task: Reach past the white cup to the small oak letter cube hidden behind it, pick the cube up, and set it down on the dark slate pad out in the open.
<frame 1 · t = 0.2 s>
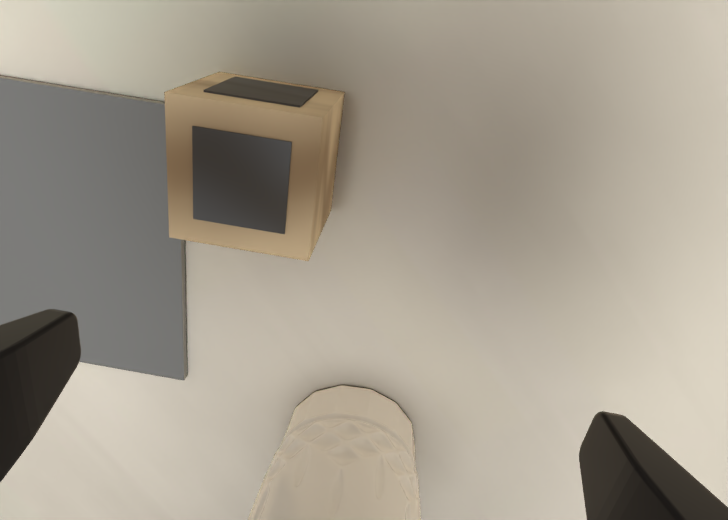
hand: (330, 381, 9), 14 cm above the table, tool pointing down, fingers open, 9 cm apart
slate pad: (80, 239, 25), on the table
white cup: (352, 430, 29), on the table
letter cube: (278, 144, 22), on the table
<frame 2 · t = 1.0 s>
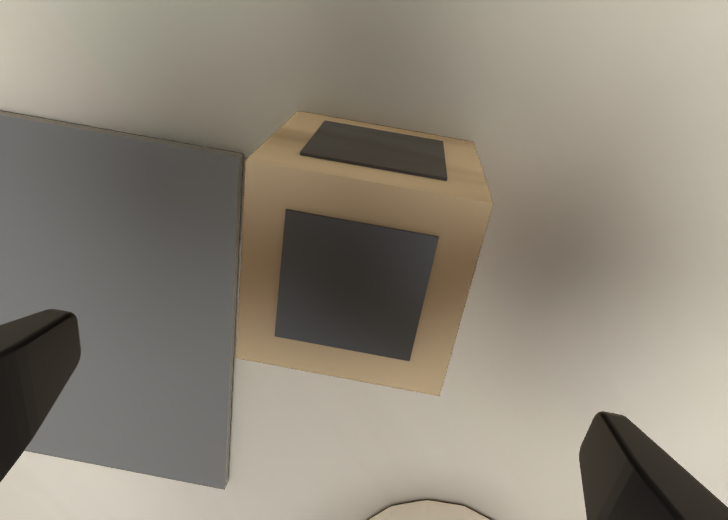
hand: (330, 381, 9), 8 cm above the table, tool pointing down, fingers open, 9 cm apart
slate pad: (97, 319, 19), on the table
letter cube: (371, 207, 16), on the table
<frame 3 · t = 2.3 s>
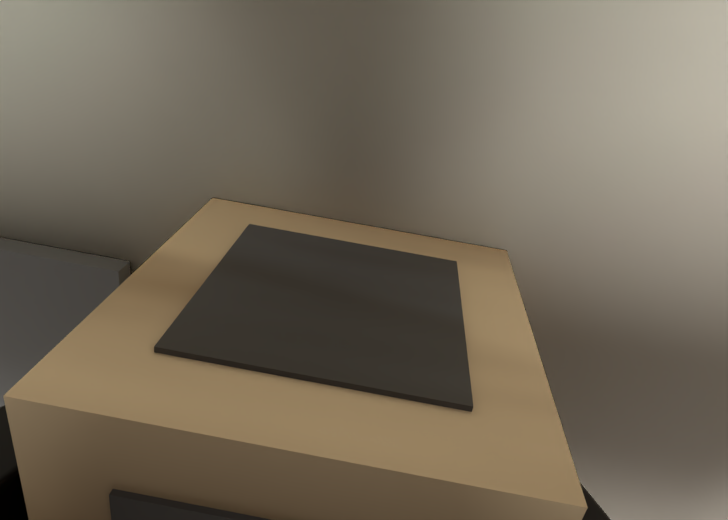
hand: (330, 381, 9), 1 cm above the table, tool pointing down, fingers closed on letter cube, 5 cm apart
letter cube: (339, 344, 10), on the table, touching gripper
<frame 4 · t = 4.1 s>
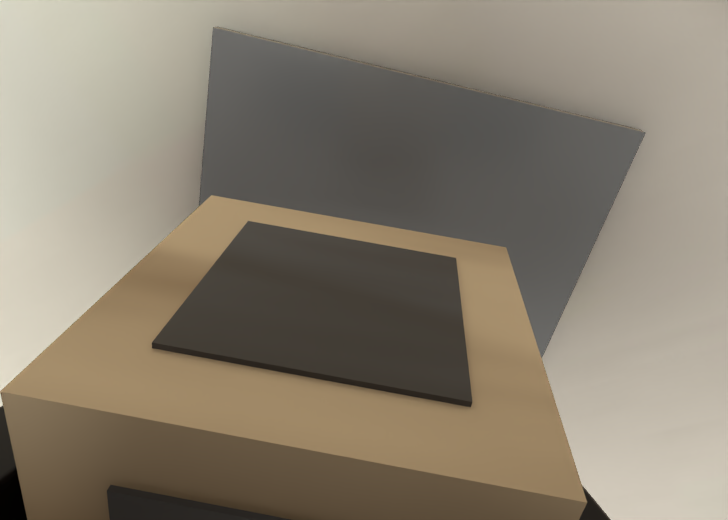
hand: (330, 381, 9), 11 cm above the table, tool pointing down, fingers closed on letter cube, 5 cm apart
slate pad: (393, 218, 19), on the table
letter cube: (339, 342, 10), point 10 cm above the table, touching gripper
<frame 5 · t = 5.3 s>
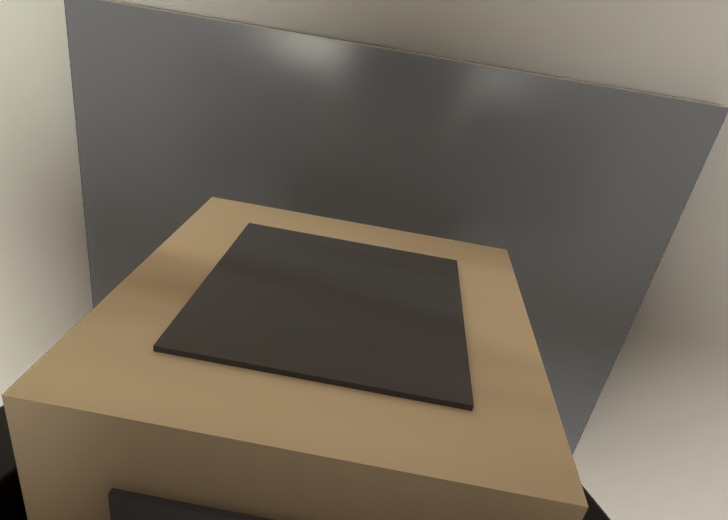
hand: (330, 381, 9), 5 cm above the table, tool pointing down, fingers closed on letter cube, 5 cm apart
slate pad: (358, 255, 14), on the table
letter cube: (339, 344, 10), point 4 cm above the table, touching gripper
when the fingers open (3 cm above the table, at t = 6.2 s): letter cube drops 1 cm, resting on slate pad.
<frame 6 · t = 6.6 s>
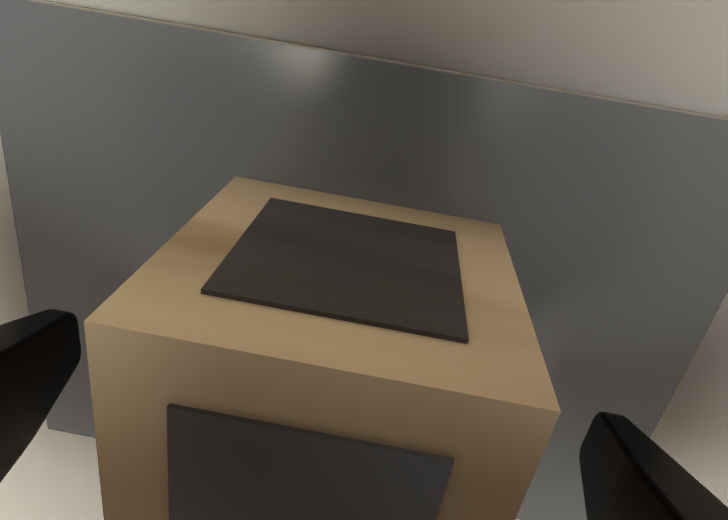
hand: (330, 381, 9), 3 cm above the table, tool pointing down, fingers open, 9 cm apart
slate pad: (348, 304, 11), on the table
letter cube: (348, 312, 11), resting on slate pad
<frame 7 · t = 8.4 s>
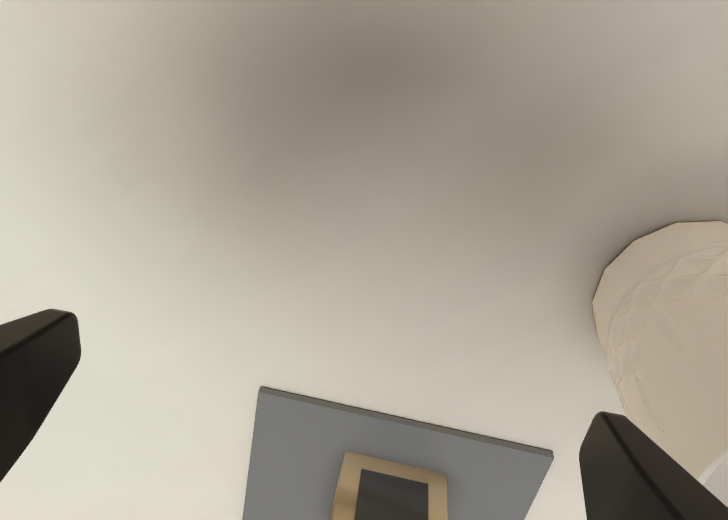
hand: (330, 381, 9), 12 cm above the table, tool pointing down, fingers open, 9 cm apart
slate pad: (384, 490, 27), on the table
white cup: (679, 295, 21), on the table
letter cube: (385, 497, 27), resting on slate pad
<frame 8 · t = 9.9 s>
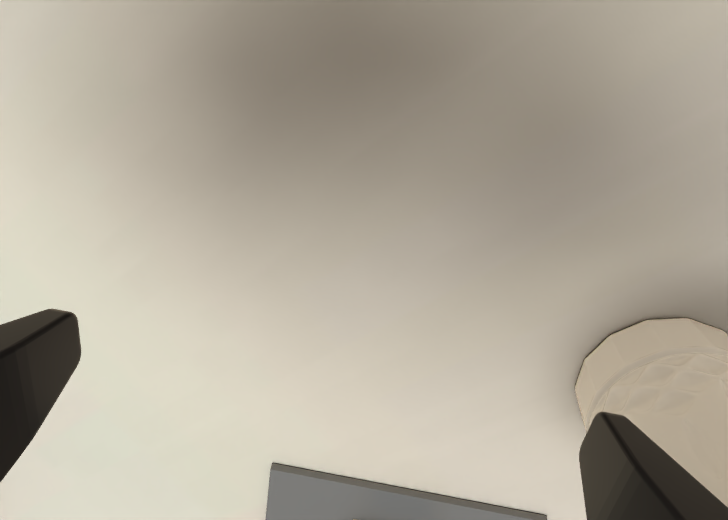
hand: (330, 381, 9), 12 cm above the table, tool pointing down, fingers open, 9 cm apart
white cup: (654, 379, 23), on the table
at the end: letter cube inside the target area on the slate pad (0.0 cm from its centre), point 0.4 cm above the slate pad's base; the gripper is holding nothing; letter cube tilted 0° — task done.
